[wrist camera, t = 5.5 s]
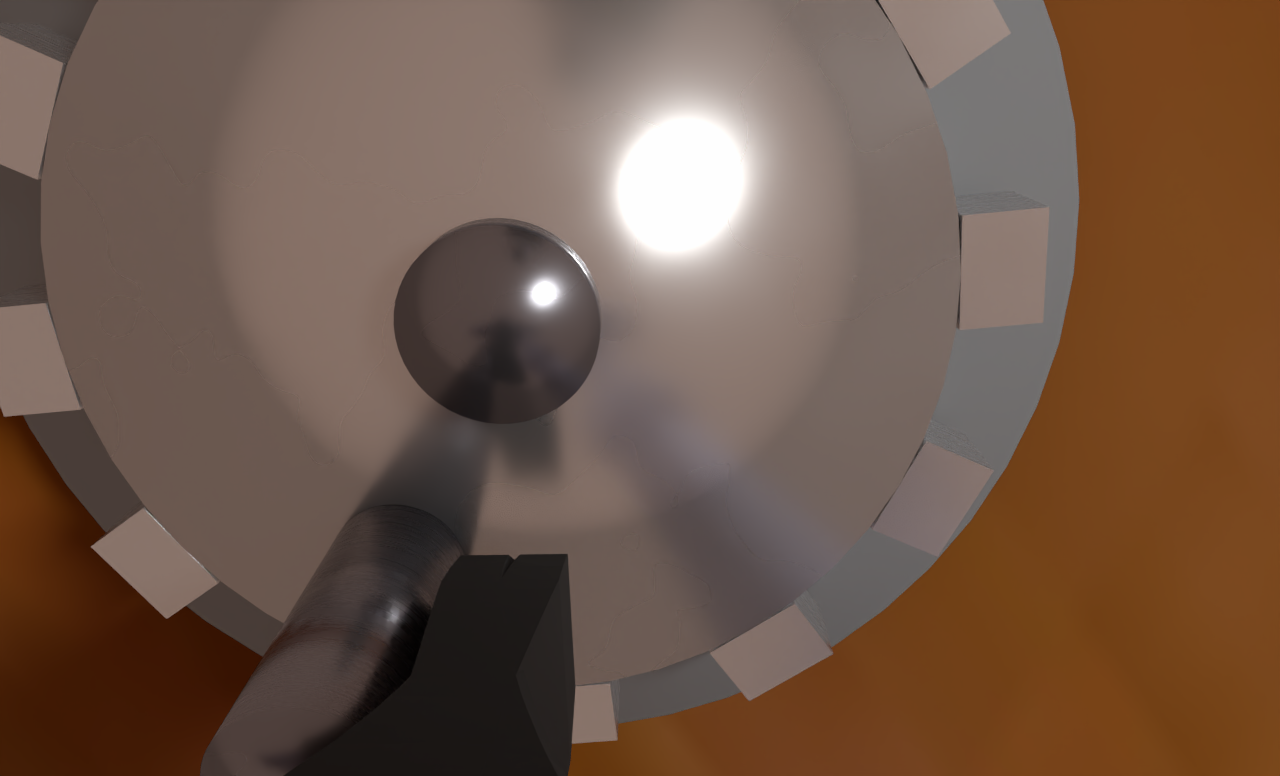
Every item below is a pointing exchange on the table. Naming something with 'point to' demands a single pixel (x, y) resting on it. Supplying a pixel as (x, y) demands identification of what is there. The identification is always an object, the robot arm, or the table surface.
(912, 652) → the table surface
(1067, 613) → the table surface
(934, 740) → the table surface
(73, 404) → the sprocket
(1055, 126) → the sprocket base
